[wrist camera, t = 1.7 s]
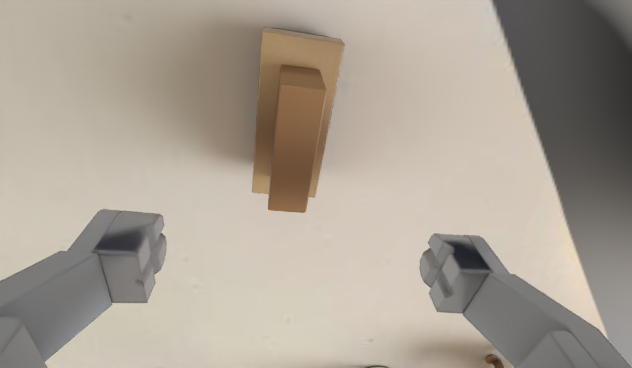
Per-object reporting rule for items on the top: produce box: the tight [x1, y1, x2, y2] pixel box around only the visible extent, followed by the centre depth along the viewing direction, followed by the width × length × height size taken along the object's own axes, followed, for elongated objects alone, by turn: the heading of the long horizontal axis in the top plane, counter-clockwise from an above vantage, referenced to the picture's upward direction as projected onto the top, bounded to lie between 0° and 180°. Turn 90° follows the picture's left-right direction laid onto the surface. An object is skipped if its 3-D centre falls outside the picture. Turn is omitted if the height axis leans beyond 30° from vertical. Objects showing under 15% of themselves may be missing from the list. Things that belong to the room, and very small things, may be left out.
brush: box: [252, 27, 345, 213], centre depth 16 cm, size 8×4×6 cm, turn 171°
